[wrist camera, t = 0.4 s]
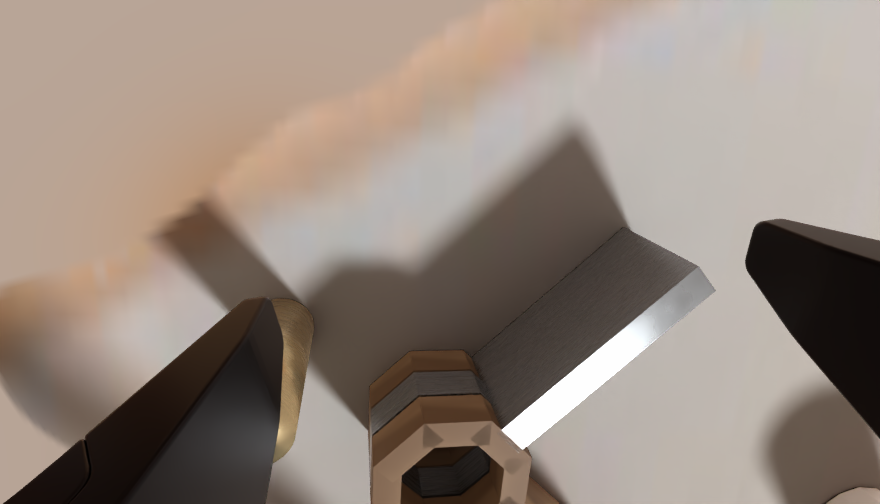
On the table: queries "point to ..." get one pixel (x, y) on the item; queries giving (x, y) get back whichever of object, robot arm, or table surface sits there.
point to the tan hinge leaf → (445, 440)
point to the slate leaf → (558, 350)
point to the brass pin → (292, 367)
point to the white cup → (857, 496)
